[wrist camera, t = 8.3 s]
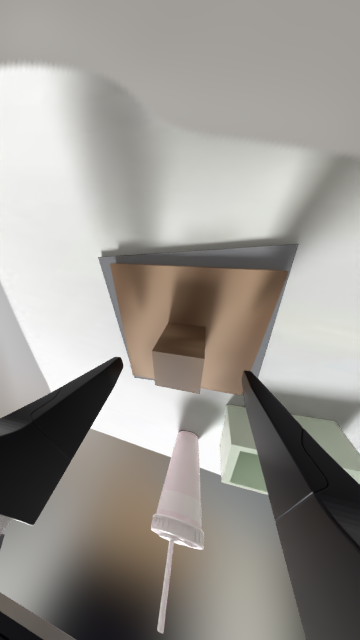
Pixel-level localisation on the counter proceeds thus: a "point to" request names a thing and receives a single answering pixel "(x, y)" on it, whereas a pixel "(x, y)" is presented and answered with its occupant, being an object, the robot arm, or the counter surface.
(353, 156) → the counter surface
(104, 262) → the mat
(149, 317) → the lid
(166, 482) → the smoothie
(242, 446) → the dish
